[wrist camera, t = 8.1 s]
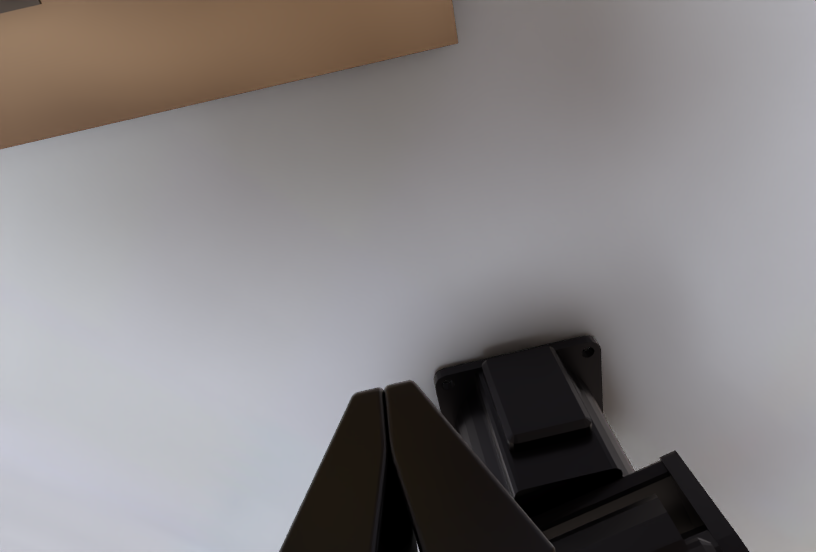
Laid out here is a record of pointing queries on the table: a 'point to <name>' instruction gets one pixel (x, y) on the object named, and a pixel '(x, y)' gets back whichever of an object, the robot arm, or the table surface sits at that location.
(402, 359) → the table surface
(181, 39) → the button board
